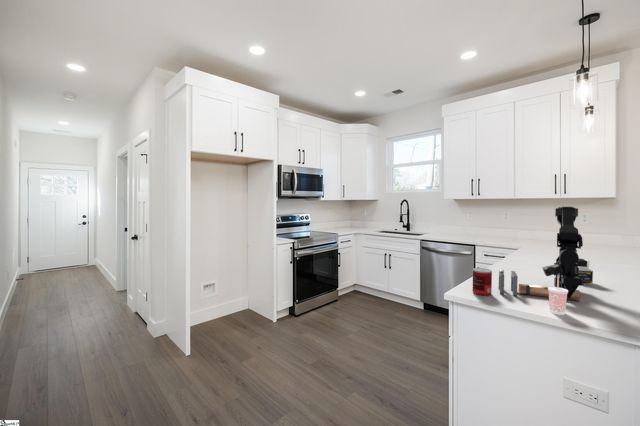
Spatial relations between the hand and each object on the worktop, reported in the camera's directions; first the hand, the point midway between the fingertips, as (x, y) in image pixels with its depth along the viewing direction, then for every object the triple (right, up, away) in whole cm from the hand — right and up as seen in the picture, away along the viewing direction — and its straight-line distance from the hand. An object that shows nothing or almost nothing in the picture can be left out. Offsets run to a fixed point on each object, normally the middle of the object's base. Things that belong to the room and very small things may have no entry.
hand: (566, 296), depth 127 cm
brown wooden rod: (-6, -1, +3) cm, 7 cm away
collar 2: (-17, -1, +9) cm, 19 cm away
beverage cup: (-16, -2, -14) cm, 21 cm away
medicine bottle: (+28, 0, +25) cm, 37 cm away
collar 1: (-21, -1, +11) cm, 24 cm away
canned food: (-32, -1, +9) cm, 33 cm away
